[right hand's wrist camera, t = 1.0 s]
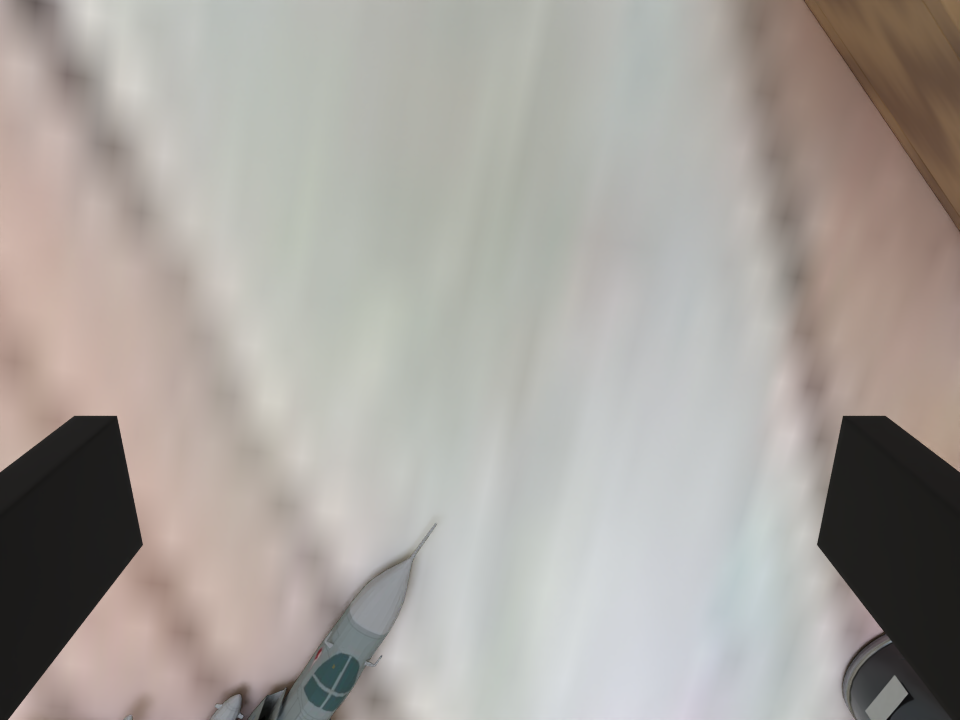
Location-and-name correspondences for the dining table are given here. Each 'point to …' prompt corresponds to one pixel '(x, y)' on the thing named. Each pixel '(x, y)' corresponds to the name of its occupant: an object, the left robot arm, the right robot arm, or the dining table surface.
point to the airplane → (336, 654)
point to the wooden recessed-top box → (908, 77)
